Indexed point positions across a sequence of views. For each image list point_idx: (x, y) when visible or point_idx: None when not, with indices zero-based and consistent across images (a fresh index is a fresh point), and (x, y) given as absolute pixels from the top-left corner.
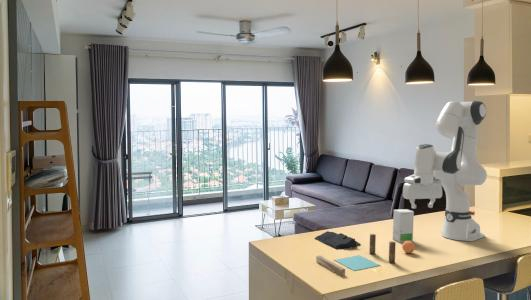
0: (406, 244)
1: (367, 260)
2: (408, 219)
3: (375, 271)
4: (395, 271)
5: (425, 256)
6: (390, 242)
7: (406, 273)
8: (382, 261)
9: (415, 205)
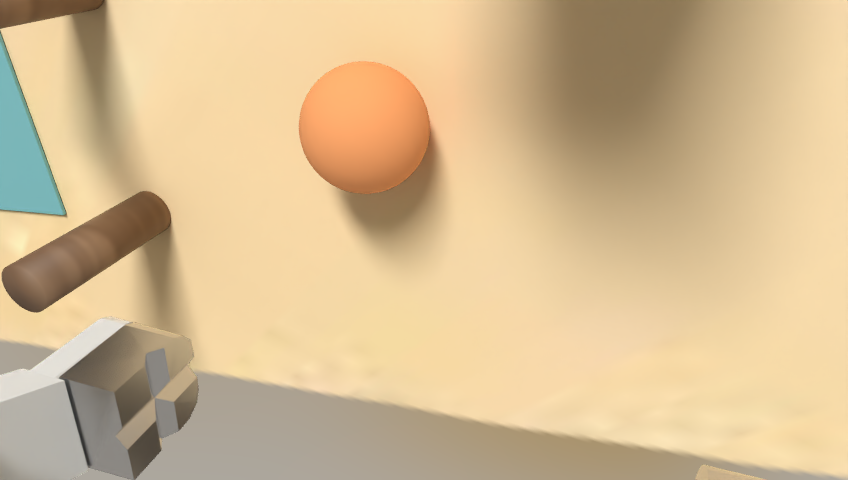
0: (306, 156)
1: (9, 107)
2: None
3: None
4: None
5: (467, 249)
6: (9, 283)
7: None
8: (102, 163)
9: (118, 457)
